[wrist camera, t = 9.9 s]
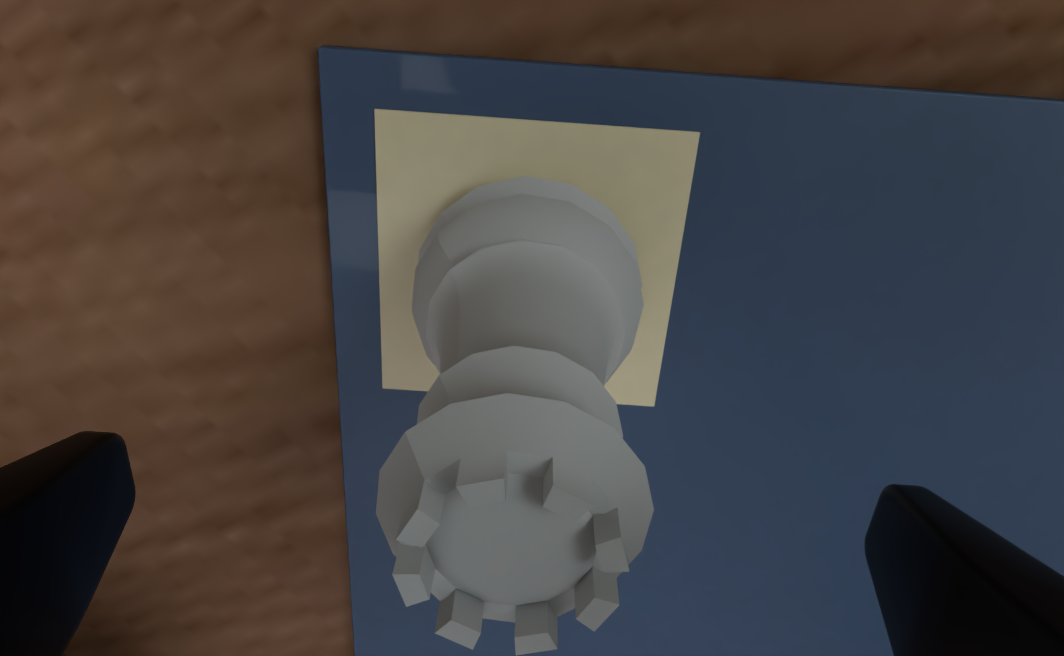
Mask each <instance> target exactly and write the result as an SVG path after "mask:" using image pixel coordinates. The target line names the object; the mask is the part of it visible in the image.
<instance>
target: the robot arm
mask: <svg viewBox="0 0 1064 656" xmlns="http://www.w3.org/2000/svg"><path fill="white" fill-rule="evenodd" d="M134 502H135V485H134V480H133V476H132V471H131V467H130V462H129V458H128V453H127V449H126V445H125V442H124V440H123V438H122V437H121V436H120V435H118V434H116V433H109V432H94V431H83V432H79V433H77V434H74V435H72V436H70V437H68V438H66V439H63V440H61V441H59V442H57V443H54V444H52V445H50V446H48V447H46V448H43V449H41V450H39V451H37V452H35V453H32V454H30V455H28V456H26V457H23V458H21V459H19V460H17V461H15V462H12V463H10V464H8V465H6V466H3V467H1V468H0V656H62V654H63V653H64V651H65V649H66V648H67V646H68V644H69V642H70V640H71V639H72V637H73V635H74V633H75V631H76V630H77V628H78V626H79V624H80V622H81V620H82V618H83V616H84V614H85V612H86V610H87V608H88V606H89V604H90V601H91V599H92V597H93V595H94V593H95V591H96V588H97V586H98V584H99V582H100V580H101V577H102V575H103V573H104V571H105V569H106V566H107V564H108V562H109V560H110V558H111V555H112V553H113V551H114V549H115V547H116V544H117V542H118V540H119V538H120V536H121V534H122V531H123V529H124V527H125V525H126V523H127V520H128V518H129V516H130V514H131V512H132V509H133V506H134ZM864 549H865V556H866V560H867V564H868V567H869V571H870V574H871V578H872V581H873V585H874V588H875V592H876V595H877V599H878V602H879V606H880V609H881V613H882V616H883V620H884V623H885V627H886V630H887V634H888V637H889V641H890V644H891V648H892V651H893V655H894V656H1064V576H1063V575H1061V574H1059V573H1058V572H1056V571H1055V570H1053V569H1052V568H1050V567H1049V566H1047V565H1045V564H1044V563H1042V562H1041V561H1039V560H1038V559H1036V558H1035V557H1033V556H1031V555H1030V554H1028V553H1027V552H1025V551H1024V550H1022V549H1020V548H1019V547H1017V546H1016V545H1014V544H1013V543H1011V542H1010V541H1008V540H1006V539H1005V538H1003V537H1002V536H1000V535H999V534H997V533H996V532H994V531H992V530H991V529H989V528H988V527H986V526H985V525H983V524H982V523H980V522H978V521H977V520H975V519H974V518H972V517H971V516H969V515H968V514H966V513H964V512H963V511H961V510H960V509H958V508H957V507H955V506H953V505H952V504H950V503H949V502H947V501H946V500H944V499H943V498H941V497H939V496H938V495H936V494H935V493H933V492H932V491H930V490H929V489H927V488H925V487H922V486H916V485H901V484H890V485H888V486H886V487H885V488H884V489H883V490H882V492H881V494H880V496H879V499H878V502H877V505H876V508H875V510H874V513H873V516H872V519H871V522H870V524H869V527H868V530H867V533H866V536H865V543H864Z"/></svg>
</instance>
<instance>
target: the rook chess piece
mask: <svg viewBox="0 0 1064 656" xmlns="http://www.w3.org/2000/svg"><path fill="white" fill-rule="evenodd" d="M641 288H642V281H641V275H640V270H639V265H638V259H637V254H636V248H635V244H634V242H633V241H632V239H631V238H630V237H629V235H628V234H627V232H626V231H625V229H624V228H623V227H622V225H621V224H620V222H619V221H618V219H617V218H616V216H615V215H614V214H613V212H612V211H611V209H610V208H609V207H607V206H606V205H604V204H602V203H601V202H599V201H597V200H596V199H594V198H593V197H591V196H589V195H588V194H586V193H585V192H583V191H581V190H580V189H578V188H576V187H575V186H573V185H572V184H569V183H563V182H557V181H551V180H545V179H539V178H533V177H527V176H521V177H517V178H512V179H508V180H504V181H499V182H495V183H491V184H486V185H482V186H478V187H476V188H475V189H473V190H472V191H471V192H469V193H468V194H466V195H465V196H464V197H462V198H461V199H459V200H458V201H457V202H455V203H454V204H452V205H451V206H450V207H448V208H447V209H446V210H444V211H443V212H441V213H440V215H439V217H438V219H437V220H436V222H435V224H434V225H433V227H432V229H431V231H430V232H429V234H428V236H427V237H426V239H425V241H424V243H423V244H422V246H421V248H420V249H419V258H418V265H417V267H416V268H415V278H414V289H413V299H412V309H411V310H412V314H413V317H414V321H415V324H416V326H417V329H418V332H419V335H420V338H421V341H422V344H423V347H424V350H425V353H426V356H427V357H428V358H429V359H430V360H431V362H432V363H433V364H434V365H435V366H436V368H437V370H438V371H439V372H440V375H438V377H437V379H436V380H435V382H434V383H433V385H432V386H431V388H430V389H429V391H428V392H427V394H426V395H425V397H424V399H423V400H422V402H421V403H420V405H419V410H418V419H417V425H415V426H414V427H412V428H410V429H409V430H407V431H406V432H405V433H404V434H403V436H402V437H401V439H400V440H399V442H398V443H397V445H396V446H395V448H394V449H393V451H392V453H391V454H390V456H389V457H388V459H387V460H386V462H385V463H384V465H383V466H382V468H381V469H380V471H379V482H378V494H377V506H376V515H377V518H378V520H379V522H380V525H381V527H382V529H383V532H384V534H385V536H386V539H387V541H388V543H389V546H390V548H391V551H392V553H393V554H394V555H395V557H396V562H395V566H394V569H393V573H392V575H393V577H394V580H395V582H396V584H397V587H398V589H399V591H400V594H401V596H402V598H403V601H404V603H405V605H406V607H408V606H411V605H414V604H417V603H420V602H423V601H426V600H429V599H430V594H431V593H432V594H433V595H434V596H435V597H436V598H437V599H438V600H439V601H440V604H439V610H438V616H437V622H436V628H435V634H438V635H440V636H442V637H444V638H447V639H449V640H451V641H454V642H456V643H458V644H460V645H463V646H465V647H467V648H470V649H472V650H473V648H474V646H475V644H476V642H477V640H478V638H479V636H480V634H481V628H482V618H483V619H491V620H498V621H506V622H514V623H515V637H514V638H515V653H516V655H522V654H529V653H536V652H542V651H549V650H556V649H558V616H560V615H562V614H564V613H566V612H568V611H570V610H572V609H574V608H575V615H576V619H577V620H578V621H579V622H581V623H582V624H584V625H585V626H587V627H588V628H589V629H591V630H592V631H594V632H595V630H596V629H597V628H598V627H599V626H600V625H601V624H602V623H603V622H604V621H605V620H606V619H607V618H608V617H609V616H610V615H611V613H612V612H613V611H614V610H615V609H616V608H617V607H618V606H619V595H618V586H617V577H618V576H619V575H620V574H621V572H629V564H630V563H631V562H632V560H633V559H634V558H635V557H636V556H637V555H638V554H639V553H640V552H641V551H642V548H643V544H644V541H645V538H646V535H647V531H648V528H649V525H650V521H651V518H652V515H653V512H654V507H653V502H652V497H651V493H650V488H649V483H648V478H647V473H646V469H645V466H644V465H643V463H642V462H641V461H640V460H639V458H638V457H637V456H636V455H635V453H634V452H633V451H632V450H631V448H630V447H629V446H628V445H627V443H626V442H625V441H624V440H623V432H622V428H621V423H620V418H619V414H618V409H617V405H616V401H615V400H614V399H613V397H612V396H611V395H610V394H609V392H608V391H607V390H606V389H605V387H604V385H605V383H607V381H608V380H609V379H610V377H611V376H612V375H613V374H614V372H615V371H616V370H617V368H618V367H619V366H620V365H621V363H622V362H623V361H624V359H625V358H626V357H627V356H628V354H629V353H630V352H631V349H632V347H633V344H634V340H635V336H636V332H637V329H638V325H639V321H640V317H641V313H642V309H643V305H644V303H643V297H642V292H641Z"/></svg>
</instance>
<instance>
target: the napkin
mask: <svg viewBox="0 0 1064 656" xmlns="http://www.w3.org/2000/svg"><path fill="white" fill-rule="evenodd" d="M318 66H319V82H320V99H321V115H322V131H323V148H324V164H325V180H326V197H327V213H328V230H329V246H330V262H331V279H332V295H333V311H334V328H335V344H336V361H337V377H338V393H339V410H340V426H341V442H342V459H343V475H344V492H345V508H346V524H347V541H348V557H349V574H350V590H351V606H352V623H353V639H354V655H355V656H894V655H893V651H892V648H891V644H890V641H889V637H888V634H887V630H886V627H885V623H884V620H883V616H882V613H881V609H880V606H879V602H878V599H877V595H876V592H875V588H874V585H873V581H872V578H871V574H870V571H869V567H868V564H867V560H866V556H865V549H864V543H865V536H866V533H867V530H868V527H869V524H870V522H871V519H872V516H873V513H874V510H875V508H876V505H877V502H878V499H879V496H880V494H881V492H882V490H883V489H884V488H885V487H886V486H888V485H890V484H901V485H916V486H922V487H925V488H927V489H929V490H930V491H932V492H933V493H935V494H936V495H938V496H939V497H941V498H943V499H944V500H946V501H947V502H949V503H950V504H952V505H953V506H955V507H957V508H958V509H960V510H961V511H963V512H964V513H966V514H968V515H969V516H971V517H972V518H974V519H975V520H977V521H978V522H980V523H982V524H983V525H985V526H986V527H988V528H989V529H991V530H992V531H994V532H996V533H997V534H999V535H1000V536H1002V537H1003V538H1005V539H1006V540H1008V541H1010V542H1011V543H1013V544H1014V545H1016V546H1017V547H1019V548H1020V549H1022V550H1024V551H1025V552H1027V553H1028V554H1030V555H1031V556H1033V557H1035V558H1036V559H1038V560H1039V561H1041V562H1042V563H1044V564H1045V565H1047V566H1049V567H1050V568H1052V569H1053V570H1055V571H1056V572H1058V573H1059V574H1061V575H1063V576H1064V99H1051V98H1038V97H1024V96H1010V95H997V94H983V93H969V92H955V91H942V90H928V89H914V88H901V87H887V86H873V85H859V84H846V83H832V82H818V81H805V80H791V79H777V78H763V77H750V76H736V75H722V74H708V73H695V72H681V71H667V70H654V69H640V68H626V67H612V66H599V65H585V64H571V63H558V62H544V61H530V60H516V59H503V58H489V57H475V56H461V55H448V54H434V53H420V52H407V51H393V50H379V49H365V48H352V47H338V46H324V45H323V46H320V47H318ZM521 176H527V177H533V178H539V179H545V180H551V181H557V182H563V183H569V184H572V185H573V186H575V187H576V188H578V189H580V190H581V191H583V192H585V193H586V194H588V195H589V196H591V197H593V198H594V199H596V200H597V201H599V202H601V203H602V204H604V205H606V206H607V207H609V208H610V209H611V211H612V212H613V214H614V215H615V216H616V218H617V219H618V221H619V222H620V224H621V225H622V227H623V228H624V229H625V231H626V232H627V234H628V235H629V237H630V238H631V239H632V241H633V242H634V244H635V248H636V254H637V259H638V265H639V270H640V275H641V281H642V288H641V292H642V297H643V303H644V305H643V309H642V313H641V317H640V321H639V325H638V329H637V332H636V336H635V340H634V344H633V347H632V349H631V352H630V353H629V354H628V356H627V357H626V358H625V359H624V361H623V362H622V363H621V365H620V366H619V367H618V368H617V370H616V371H615V372H614V374H613V375H612V376H611V377H610V379H609V380H608V381H607V383H605V385H604V387H605V389H606V390H607V391H608V392H609V394H610V395H611V396H612V397H613V399H614V400H615V401H616V405H617V409H618V414H619V418H620V423H621V428H622V432H623V440H624V441H625V442H626V443H627V445H628V446H629V447H630V448H631V450H632V451H633V452H634V453H635V455H636V456H637V457H638V458H639V460H640V461H641V462H642V463H643V465H644V466H645V469H646V473H647V478H648V483H649V488H650V493H651V497H652V502H653V507H654V512H653V515H652V518H651V521H650V525H649V528H648V531H647V535H646V538H645V541H644V544H643V548H642V551H641V552H640V553H639V554H638V555H637V556H636V557H635V558H634V559H633V560H632V562H631V563H630V564H629V572H621V574H620V575H619V576H618V577H617V586H618V595H619V606H618V607H617V608H616V609H615V610H614V611H613V612H612V613H611V615H610V616H609V617H608V618H607V619H606V620H605V621H604V622H603V623H602V624H601V625H600V626H599V627H598V628H597V629H596V630H595V632H594V631H592V630H591V629H589V628H588V627H587V626H585V625H584V624H582V623H581V622H579V621H578V620H577V619H576V615H575V608H574V609H572V610H570V611H568V612H566V613H564V614H562V615H560V616H558V649H556V650H549V651H542V652H536V653H529V654H522V655H516V653H515V638H514V637H515V623H514V622H506V621H498V620H491V619H483V618H482V628H481V634H480V636H479V638H478V640H477V642H476V644H475V646H474V648H473V650H472V649H470V648H467V647H465V646H463V645H460V644H458V643H456V642H454V641H451V640H449V639H447V638H444V637H442V636H440V635H438V634H435V628H436V622H437V616H438V610H439V604H440V601H439V600H438V599H437V598H436V597H435V596H434V595H433V594H432V593H431V594H430V599H429V600H426V601H423V602H420V603H417V604H414V605H411V606H408V607H406V605H405V603H404V601H403V598H402V596H401V594H400V591H399V589H398V587H397V584H396V582H395V580H394V577H393V575H392V573H393V569H394V566H395V562H396V557H395V555H394V554H393V553H392V551H391V548H390V546H389V543H388V541H387V539H386V536H385V534H384V532H383V529H382V527H381V525H380V522H379V520H378V518H377V515H376V506H377V494H378V482H379V471H380V469H381V468H382V466H383V465H384V463H385V462H386V460H387V459H388V457H389V456H390V454H391V453H392V451H393V449H394V448H395V446H396V445H397V443H398V442H399V440H400V439H401V437H402V436H403V434H404V433H405V432H406V431H407V430H409V429H410V428H412V427H414V426H415V425H417V419H418V410H419V405H420V403H421V402H422V400H423V399H424V397H425V395H426V394H427V392H428V391H429V389H430V388H431V386H432V385H433V383H434V382H435V380H436V379H437V377H438V375H440V372H439V371H438V370H437V368H436V366H435V365H434V364H433V363H432V362H431V360H430V359H429V358H428V357H427V356H426V353H425V350H424V347H423V344H422V341H421V338H420V335H419V332H418V329H417V326H416V324H415V321H414V317H413V314H412V310H411V309H412V299H413V289H414V278H415V268H416V267H417V265H418V258H419V249H420V248H421V246H422V244H423V243H424V241H425V239H426V237H427V236H428V234H429V232H430V231H431V229H432V227H433V225H434V224H435V222H436V220H437V219H438V217H439V215H440V213H441V212H443V211H444V210H446V209H447V208H448V207H450V206H451V205H452V204H454V203H455V202H457V201H458V200H459V199H461V198H462V197H464V196H465V195H466V194H468V193H469V192H471V191H472V190H473V189H475V188H476V187H478V186H482V185H486V184H491V183H495V182H499V181H504V180H508V179H512V178H517V177H521Z"/></svg>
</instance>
